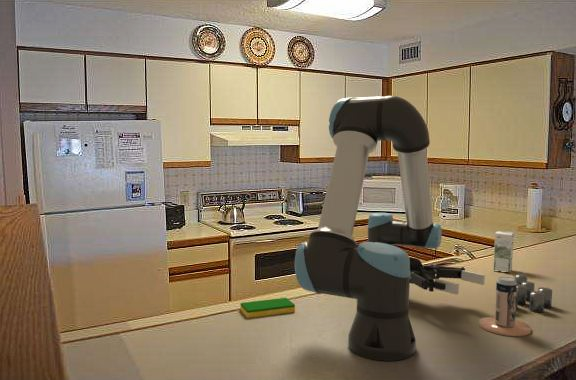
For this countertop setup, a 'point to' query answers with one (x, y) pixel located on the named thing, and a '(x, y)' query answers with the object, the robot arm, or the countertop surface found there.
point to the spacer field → (532, 295)
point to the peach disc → (516, 330)
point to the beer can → (505, 301)
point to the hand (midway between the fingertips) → (471, 284)
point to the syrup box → (503, 251)
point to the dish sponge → (267, 307)
